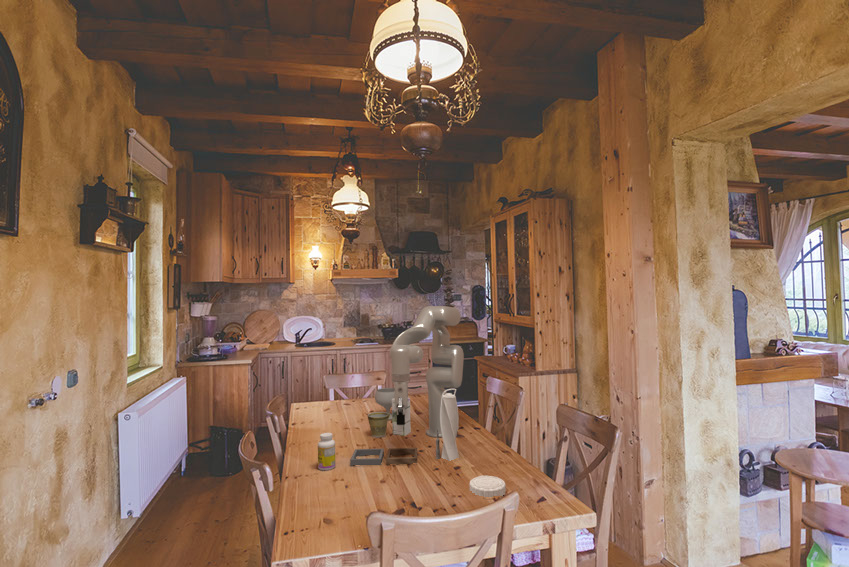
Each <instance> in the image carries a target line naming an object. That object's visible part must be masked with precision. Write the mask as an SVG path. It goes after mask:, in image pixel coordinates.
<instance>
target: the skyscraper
mask: <svg viewBox="0 0 849 567" xmlns="http://www.w3.org/2000/svg"><path fill="white" fill-rule="evenodd" d="M445 390H446V391H444V392H443V394H442V399H441V407H440V426H441V432H442V437H441V438H442V441H443V444H442V450H440V449H441V448H440V437H438V435H439V433H438V428H437V437H436V438H435V446H436V447H435V459H440V457H441V458H443V459H446V460H448V461H451V460H454V459H456V458H459V459H460V455H459V450H458V446H457V434H458V427H459V420H460V419H459V408H458V403H457V397H456V392H457V388H447V389H445ZM452 390H453V391H454V392H453V393H454V394H453V393H452V392H448V391H452ZM445 392H447V393H446V394H445V395H444V393H445Z"/></svg>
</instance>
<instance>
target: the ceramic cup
mask: <svg viewBox="0 0 849 567" xmlns="http://www.w3.org/2000/svg"><path fill="white" fill-rule="evenodd" d="M389 417H390V414H389V413H386V412H385V411H375V412H374V411H373V412H370V413H368V414H367V420H368V423H369V428H370V433H371V437H372V438H374V437H375V438H374V439H379V438H380V437H381V438H384V437H386V434H387V426H388V421H389V420H388V419H389ZM381 438H380V439H381Z"/></svg>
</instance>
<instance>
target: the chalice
mask: <svg viewBox="0 0 849 567" xmlns="http://www.w3.org/2000/svg"><path fill="white" fill-rule="evenodd" d="M393 398H395V387H383V388H379V389H376V391H375V396H374V400H375V403H376V404H378V405H380V407H383V408H384V409H385V411H386V413H389V414H390V417H389V419H388V421H389V420H392V412H391V409H392V399H393Z"/></svg>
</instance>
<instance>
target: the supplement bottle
mask: <svg viewBox="0 0 849 567" xmlns="http://www.w3.org/2000/svg"><path fill="white" fill-rule="evenodd" d="M319 439H320V441H318V442H317V467H318V470H320V471H324V470H325V471H331V470H333V469H335V467H336V441H335V440H334V439H333V433H331V432H324V433H321V434H320V435H319ZM330 469H331V470H330Z"/></svg>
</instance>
